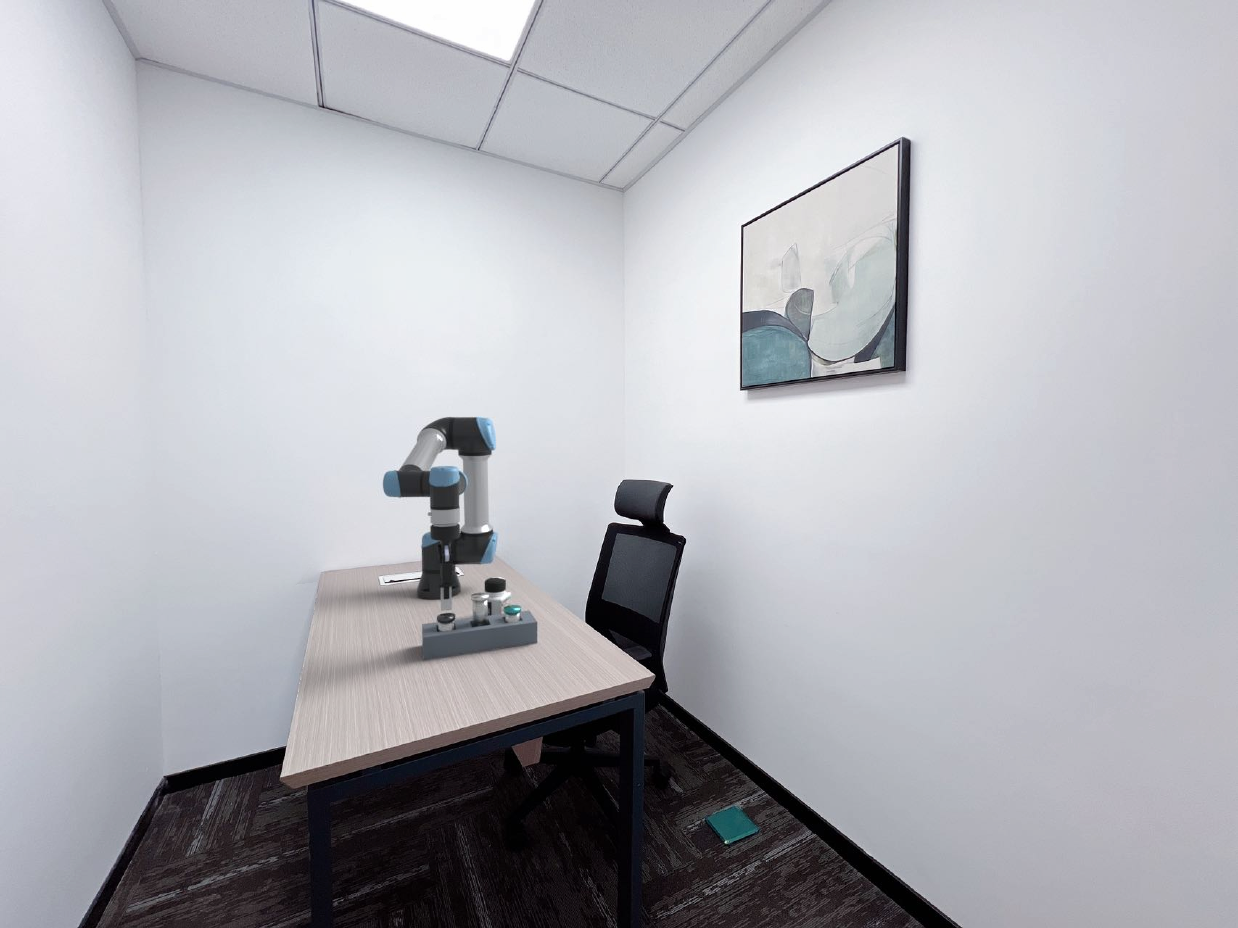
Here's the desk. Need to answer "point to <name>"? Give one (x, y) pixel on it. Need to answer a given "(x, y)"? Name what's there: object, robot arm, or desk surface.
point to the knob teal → (512, 613)
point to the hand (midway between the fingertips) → (446, 609)
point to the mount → (478, 636)
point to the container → (497, 595)
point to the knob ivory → (480, 609)
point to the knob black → (446, 621)
